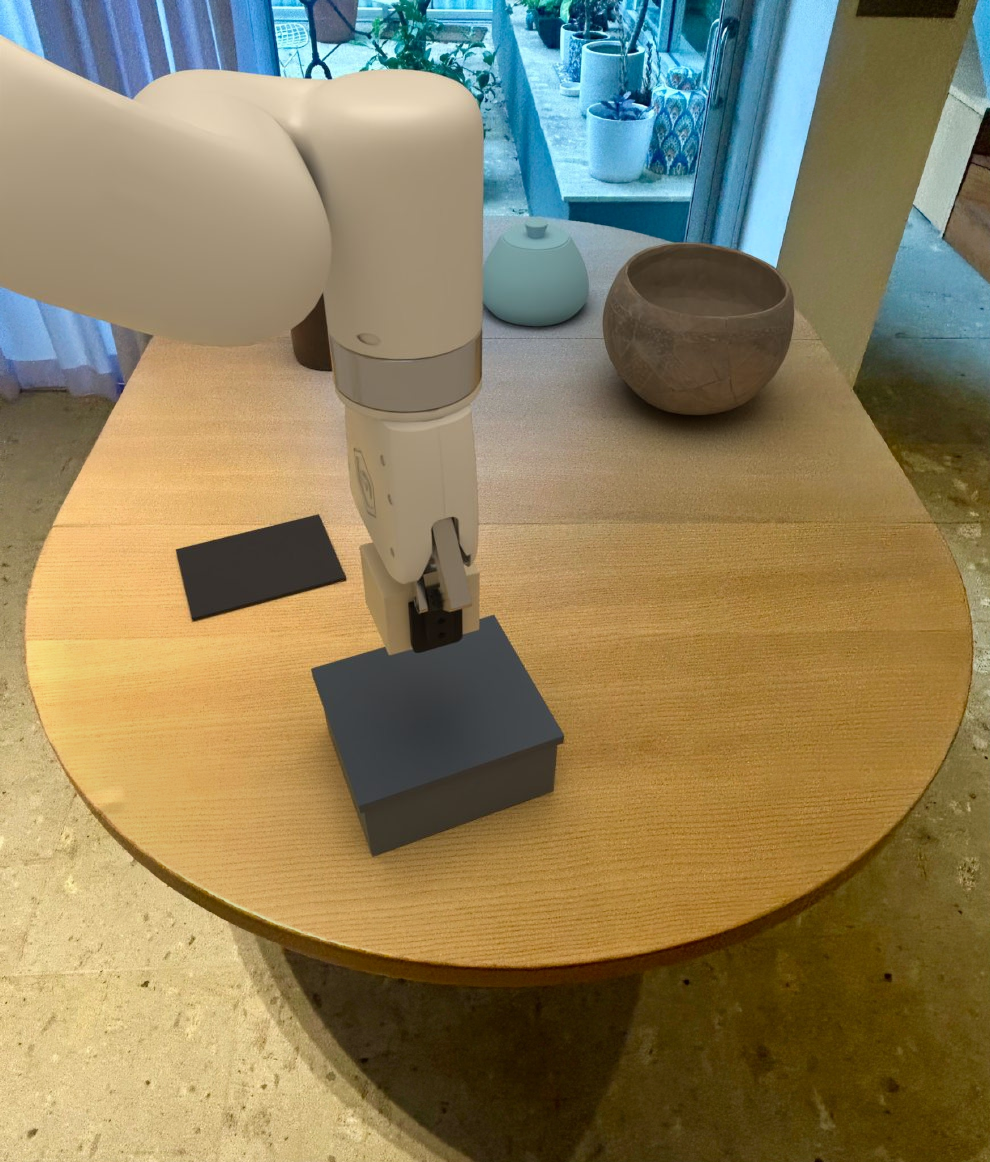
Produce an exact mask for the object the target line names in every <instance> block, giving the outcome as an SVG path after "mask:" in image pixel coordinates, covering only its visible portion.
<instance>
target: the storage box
mask: <svg viewBox="0 0 990 1162" xmlns="http://www.w3.org/2000/svg"><path fill="white" fill-rule="evenodd" d="M310 671H311V676H312V679H313V682H314V685H315V688H316V691H317V694H318V697H319V700H320V702H321V705H322V709H323V712H324V718H325V722H326V727H327V731H328V733H329V737H330V739H331V742H332V745H333V748H334V751H335V754H336V757H337V760H338V763H339V765H340V768H341V771H342V774H343V777H344V780H345V783H346V786H347V788H348V792H349V794H350V797H351V800H352V804H353V806H354V809H355V812H356V815H357V818H358V820H359V823H360V827H361V829H362V832H363V835H364V838H365V840H366V844H367V847H368V849H369V852H370V855H371V857H377V856H378V855H381V854H384V853H387V852H389V851H391V850H394V849H398V848H400V847H404V846H405V845H409V844H411V843H414V842H417V841H420V840H422V839H426V838H427V837H431V836H434V835H436V834H438V833H443V832H445V831H447V830H450V829H453V828H456V827H458V826H462V825H464V824H466V823H469V822H471V821H472V822H473V821H474V820H477V819H481V818H483V817H485V816H489V815H491V814H495V813H496V812H499V811H502V810H505V809H508V808H511V807H513V806H516V805H519V804H521V803H524V802H528V801H529V800H533V799H535V798H538V797H541V796H543V795H547V794H549V793H552V792H554V791H555V780H556V778H555V777H556V767H557V757H558V746H560V745H563V744H565V734H564V732H563V730H562V728H561V726H560V725H559V724H558V722H557V719H555V716H554V715H553V713H552V712H551V710H550V708H549V706H548V705H547V703H546V702H545V700H544V698H543V696H542V695H541V692H540V690H539V689H538V688H537V685H536V684H535V682H534V680H533V679H532V677H531V675H530V674H529V672H528V670H527V668H526V667H525V665H524V663H523V661H522V660H521V659H520V657H519V655H518V653H517V650H515V648H514V647H513V645H512V643H511V641H510V639H509V637H508V636H507V634H506V633H505V630H504V629H503V627H502V625H501V624H500V622H499V620H498V619H497V617H496V615H495V614H491V615H488V616H484V617H480V618H479V630H477V631H473V632H470V633H466V634H463V637H462V639H461V640H460V641H459V642H456V643H453V644H449V645H446V646H442V647H439V648H435V649H432V650H428V651H425V652H421V653H415V652H414V651H413V649H411V650H407V651H404V652H400V653H397V654H393V655H389V654H388V652H387V650H386V647H385V646H383V647H378V648H376V649H372V650H370V651H365V652H363V653H358V654H356V655H351V656H349V657H346V658H342V659H339V660H336V661H332V662H329V663H328V662H327V663H325V664H321V665H317V666H315V667H311V668H310Z"/></svg>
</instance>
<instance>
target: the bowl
mask: <svg viewBox="0 0 990 1162" xmlns="http://www.w3.org/2000/svg"><path fill="white" fill-rule="evenodd" d="M794 324H795V300H794V294H793V289H792V287H791V285H790V284H789V282H788V280H787V279H786V277H785V275H784V274H783V273H782V272H781V271H780V270H779V269H778V268H776V267H775V266H774V265H772V264H770V263H768V261H767V262H766V261H765V260H763V259H760V258H759V257H756V256H754V255H752V254H749V253H746V252H744V251H741V250H739V249H736V248H733V247H732V248H731V247H728V246H723V245H717V244H711V243H705V242H692V241H689V242H688V241H686V242H685V241H683V242H679V241H678V242H669V243H663V244H658V245H655V246H651V247H647V248H645V249H643V250H640V251H639V252H637V253H635V254H634V255H632V256H631V257H630V258H629V259H628V260H627V261H626V262H625V263H624V265H623V266H622V267H621V268H620V269H619V270H618V271H617V274H616V276H615V278H614V280H613V281H612V283H611V285H610V288H609V290H608V293H607V295H606V299H605V302H604V307H603V313H602V336H603V340H604V341H603V342H604V344H605V350H606V352H607V355H608V358H609V360H610V363H611V365H612V366H613V368H614V369H615V371H616V372H617V374H618V376H619V377H620V378H621V379H622V380H623V381H624V382H625V383H626V384H627V386H628V387H630V388H631V390H632V391H633V392H634V393H635V394H636V395H637V396H638V397H640V398H641V399H642V400H643V401H644V402H646V403H647V404H648V405H651V406H653V407H655V408H657V409H659V410H662V411H664V412H668V413H673V414H678V415H686V416H704V415H705V416H707V415H714V414H720V413H724V412H728V411H731V410H733V409H735V408H737V407H740V406H742V405H744V404H745V403H747V402H749V401H750V400H752V399H753V398H754V397H755V396H756V395H758V394H759V393H760V392H762V390H763V389H764V388H765V387H766V386H768V384H769V383H770V382H771V380H772V379H773V378H775V376H776V374H777V373H778V371H779V370H780V368H781V367H782V365H783V363H784V361H785V359H786V357H787V354H788V352H789V349H790V346H791V342H792V336H793V333H794V332H793V331H794V326H795V325H794Z"/></svg>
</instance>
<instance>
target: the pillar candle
mask: <svg viewBox="0 0 990 1162" xmlns="http://www.w3.org/2000/svg"><path fill="white" fill-rule="evenodd" d="M327 328H328V326H327V320H326V312H325V303H324V295H323V293H322V295H321V297H320V298H319V300H318V302H317V304H316V306H315V307H314V308H313V310H312V311H311V312H310V313H309V314H308V315H307V317H306V318H305V319H304V320H303V321H302V322H300V323H299V324H298V325H296V326H295V327H294V328H293V329H291V330H290V337H291V343H292V349H293V354H294V356H295V359H296V360H297V361H298V363H300V364H301V365H303V366H304V367H306V368H310V369H314V370H318V371H319V370H323V371H325V370H326V371H333V370H332V362H331V354H330V345H329V337H328V329H327Z"/></svg>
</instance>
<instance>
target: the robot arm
mask: <svg viewBox="0 0 990 1162" xmlns="http://www.w3.org/2000/svg"><path fill="white" fill-rule="evenodd" d="M484 137H485V135H484V121H483V115H482V112H481V109H480V106H479V103H478V101H477V99H476V98H475V96H474V95H473V93H472V92H471V91H470V90H469V89H468V88H467V87H466V86H464V85H463V84H462V83H460V82H459V81H457V80H456V79H452V78H450V77H447V76H444V75H441V74H438V73H435V72H434V73H433V72H430V71H425V70H417V69H416V70H415V69H404V68H403V69H401V68H400V69H398V68H395V69H394V68H386V69H371V70H362V71H356V72H350V73H346V74H343V75H339V76H337V77H334V78H331V79H321V78H320V79H317V78H305V77H304V78H302V77H289V76H278V75H277V76H276V75H269V74H260V73H259V74H258V73H250V72H243V71H235V70H234V71H233V70H226V69H225V70H224V69H209V68H207V69H204V68H203V69H202V68H197V69H186V70H185V69H184V70H180V71H176V72H171V73H169V74H166V75H163V76H161V77H158V78H156V79H154V80H152V82H150V83H148V84H147V85H146V86H145V87H143V88H142V89H141V90H140V91H139V92H138V93H137V94H136V95H135V96H134V97H133V98H130V97H129V96H125V95H122V94H120V93H119V92H115V91H114V90H111V89H109V88H107V87H105V86H102V85H100V84H98V83H96V82H94V81H92V80H89V79H87V78H85V77H83V76H81V75H78V74H77V73H75V72H72V71H70V70H68V69H66V68H65V67H62V66H60V65H57V64H56V63H54V62H52V61H50V60H48V59H46V58H44V57H42V56H40V55H38V54H36V53H34V52H32V51H30V50H28V49H26V48H25V47H24V46H21V45H19V44H17V43H16V42H15V41H12V40H11V39H9V38H8V37H5V36H4V35H2V34H0V288H3V289H5V290H7V291H10V292H13V293H15V294H18V295H21V296H23V297H26V298H29V299H31V300H34V301H38V302H40V303H43V304H46V305H50V306H53V307H55V308H60V309H64V310H66V311H70V312H72V313H75V314H79V315H82V316H85V317H88V318H92V319H96V320H99V321H102V322H106V323H108V324H112V325H115V326H118V327H122V328H126V329H129V330H132V331H136V332H139V333H143V334H146V335H150V336H152V337H153V336H154V337H158V338H161V339H165V340H170V341H173V342H180V343H184V344H188V345H189V344H190V345H195V346H203V347H216V348H237V347H239V348H241V347H249V346H254V345H259V344H263V343H266V342H271V341H273V340H274V339H276V338H278V337H281V336H283V335H285V334H287V333H289V332H291V329H293V328H294V327H295V326H296V325H298V324H299V323H300V322H302V321H303V320H304V319H305V318H306V317H307V315H308V314H309V313H310V312H311V311H312V310H313V308H314V307H315V306H316V304H317V302H318V300H319V298H320V297H321V295H322V293H323V295H324V303H325V312H326V320H327V326H328V328H327V329H328V337H329V345H330V354H331V362H332V370H331V371H332V377H333V384H334V392H335V394H336V395H337V398H338V399H339V401H340V402H341V403H342V404H343V405H344V417H345V418H344V419H345V435H346V450H347V452H346V453H347V464H348V465H347V466H348V478H349V488H350V492H351V496H352V499H353V501H354V505H355V507H356V509H357V511H358V514H359V516H360V518H361V520H362V522H363V524H364V527H365V529H366V531H367V532H368V535H369V537H370V539H371V542H373V543H374V545H375V547H376V549H377V551H378V553H379V555H380V557H381V559H382V561H383V563H384V565H385V567H386V569H387V571H388V572H389V574H390V575H391V577H392V578H394V579H395V580H396V581H398V582H399V583H402V584H407V583H409V582H411V587H412V593H413V600H414V601H412V602H408V610H409V624H410V638H411V646H412V648H413V651H414V652H415V653H421V652H425V651H428V650H432V649H435V648H439V647H442V646H446V645H449V644H453V643H456V642H459V641H460V640H461V639H462V637H463V618H462V609H463V608H467V607H471V606H472V598H471V594H470V590H469V586H468V581H467V577H466V573H465V569H464V565H463V564H465V565H466V566H467V567H470V566H471V565H472V564H473V562H474V563H475V560H476V558H477V554H478V548H479V534H480V533H479V527H480V526H479V525H480V524H479V523H480V518H479V517H480V516H479V488H478V473H477V472H478V471H477V470H478V469H477V458H476V446H475V445H476V444H475V436H474V425H473V417H472V409H471V403H473V402H474V401H475V400H476V398H477V397H478V396H479V395H480V392H481V390H482V386H483V322H484V321H483V320H484V319H483V313H484V312H483V311H484V310H483V309H484V308H483V305H484V303H483V266H484V179H485V178H484V174H485V173H484V169H485V168H484V166H485V164H484V163H485V160H484V159H485V139H484ZM432 552H433V554H432ZM436 571H437V573H438V577H439V581H440V587H438V588H434V589H431V590H427V591H426V589H425V582H424V574H428V573H432V572H436Z"/></svg>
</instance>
